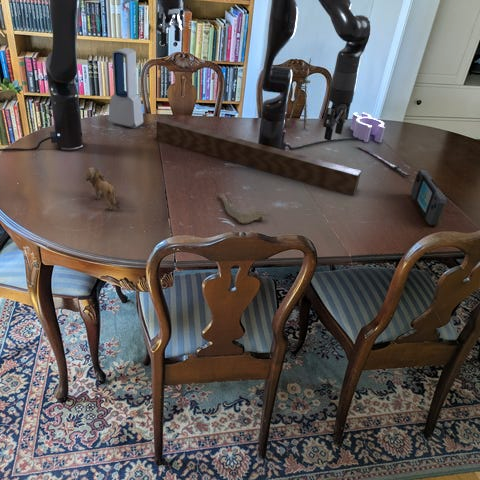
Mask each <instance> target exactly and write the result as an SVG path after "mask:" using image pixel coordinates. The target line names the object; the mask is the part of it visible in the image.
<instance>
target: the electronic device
mask: <svg viewBox="0 0 480 480" xmlns="http://www.w3.org/2000/svg"><path fill="white" fill-rule="evenodd" d="M111 58H112V60H111V61H112V78H113V79H112V81H113V94H111V96H110V100H109V113H108V119H109V121H110V123H111V124H113V125H116V126H121V127H124V128H125V127H126V128H129V129H136V128H138V127H140V126H141V125H142V124H143V123H144V113H143V105H142V98H141V96H140V95H139V94H138V82H137V81H138V80H137V79H138V78H137V51H135V50H134V49H132V48H128V47H124V48H123V47H122V48H120V49H117V50H114V51H113V50H112V51H111ZM124 59H125V60H124ZM124 63H125V64H124Z"/></svg>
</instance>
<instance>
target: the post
mask: <svg viewBox="0 0 480 480" xmlns="http://www.w3.org/2000/svg"><path fill="white" fill-rule="evenodd" d="M156 141H159V142H160V141H161V142H163V143H167V144H171V145H174V146H177V147H182V148H184V149H187V150H191V151H195V152H199V153H202V154H206V155H210V156H212V157H215V158H220V159H222V160H223V159H224V160H226V161H230V162H234V163H237V164H240V165H244V166H248V167H251V168H253V169H258V170H261V171H264V172H269V173H271V174H276V175H279V176H282V177H285V178H290V179H293V180H297V181H300V182H304V183H307V184H311V185H314V186H318V187H320V188H325V189H327V190H332V191H334V192H338V193H342V194H346V195H347V196H353V197H354V195H355V194H356V192H357V190H358V186H359V182H360V179H361V174H362V170H360V169H355V168H352V167H349V166H344V165H341V164H336V163H333V162H329V161H325V160H321V159H317V158H314V157H311V156H307V155H302V154H299V153H295V152H291V151H287V150H280V149H277V148H273V147H269V146H265V145H262V144H258V142H253V141H250V140H247V139H243V138H239V137H235V136H232V135H231V136H230V135H228V134H224V133H220V132H216V131H212V130H209V129H205V128H201V127H198V126H194V125H190V124H187V123H182V122H179V121H176V120H172V119H168V118H165V117H164V118H161V119H158V120H156Z"/></svg>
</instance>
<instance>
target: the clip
mask: <svg viewBox="0 0 480 480" xmlns="http://www.w3.org/2000/svg"><path fill="white" fill-rule="evenodd" d="M358 114H359V113H358V112H353V114H352V118H351V122H350V126H349V129H350V130H351V131H353V132H352V136H353V138H356V137H358V139H357V140H361V141H363V142H364V143H368V142H369V140H370V135H372V136H374V139H373V140H374V142H376V143H382V140H383V137H384V132H385V129H386V127H385V122H384V121H383V120H380V119H377V118H374V117H372V115H371V114H369V113H366V112H361V115H358Z"/></svg>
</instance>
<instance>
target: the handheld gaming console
mask: <svg viewBox="0 0 480 480" xmlns="http://www.w3.org/2000/svg"><path fill="white" fill-rule="evenodd" d="M410 192H411V193H410V195H411V197H412V199H413V201H414V203H415V205H416V207H417V208H418V210H419V211H420V213H421V215H422V216H423V218H424V220H425V221H426V223H427V224H428V225H429V226H430V227H437V225H439V224H440V221H441V218H442V215H443V213H444V210H445V208H446V204H447V198H446V196H445V195H444V193H443V191H442V190H441V189H440V188H439V186H438V185H437V183H436V182H435V181H434V179H433V178H432V177H431V175H430V174H429V172H427V171H426V170H425V169H419V170H417V172H416V175H415V178H414V181H413V185H412V188H411V191H410Z"/></svg>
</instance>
